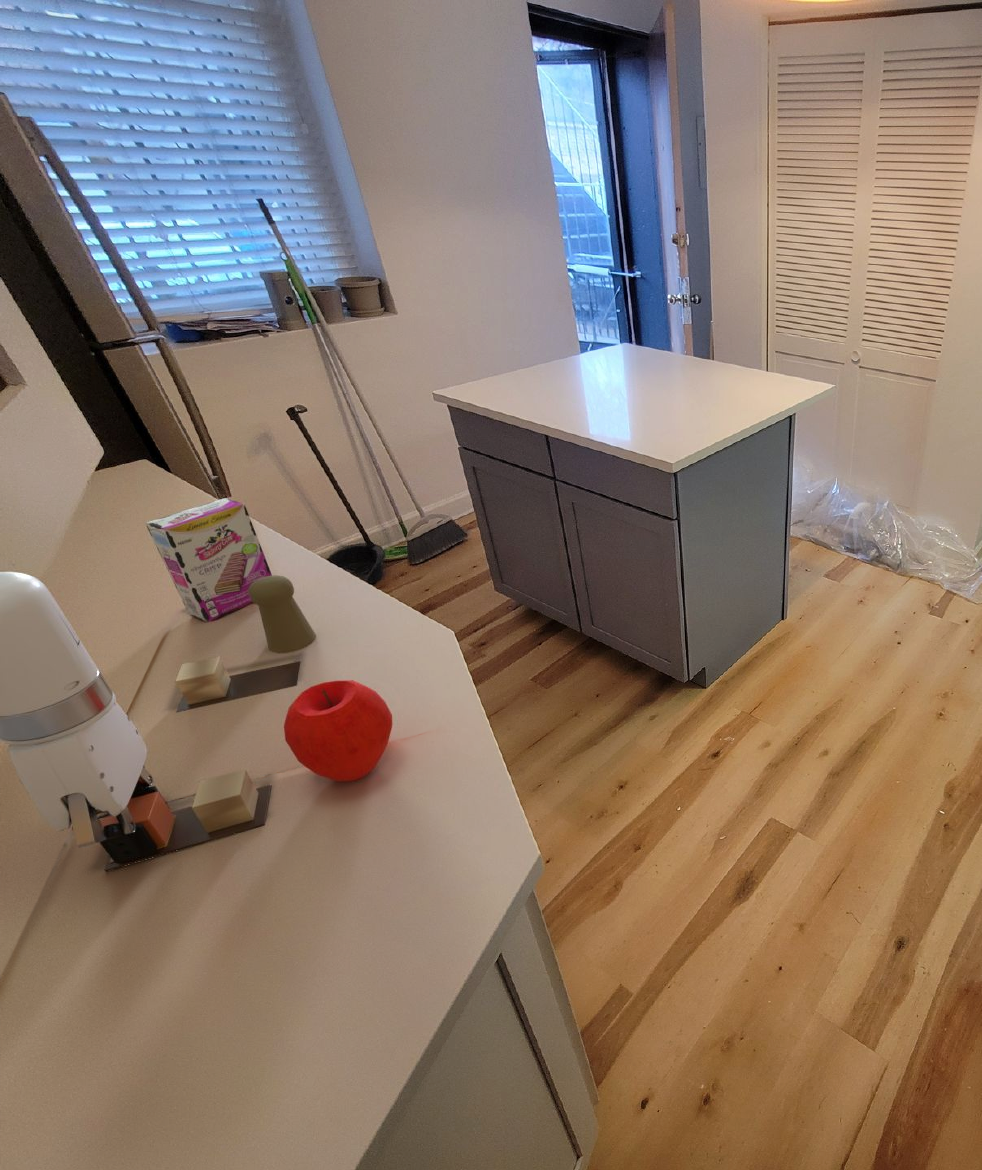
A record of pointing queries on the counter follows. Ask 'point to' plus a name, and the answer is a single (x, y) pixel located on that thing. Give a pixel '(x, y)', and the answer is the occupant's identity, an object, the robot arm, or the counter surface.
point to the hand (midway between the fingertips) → (144, 835)
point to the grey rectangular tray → (229, 682)
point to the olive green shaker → (281, 614)
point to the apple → (338, 729)
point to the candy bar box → (211, 556)
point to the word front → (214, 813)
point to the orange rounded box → (149, 816)
